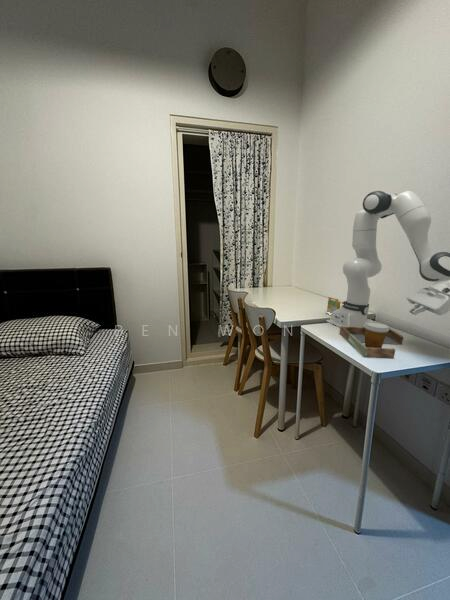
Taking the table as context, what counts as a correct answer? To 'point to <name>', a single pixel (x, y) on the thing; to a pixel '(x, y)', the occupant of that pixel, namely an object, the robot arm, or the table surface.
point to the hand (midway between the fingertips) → (411, 313)
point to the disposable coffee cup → (375, 334)
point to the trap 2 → (389, 341)
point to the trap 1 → (360, 337)
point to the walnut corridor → (369, 351)
